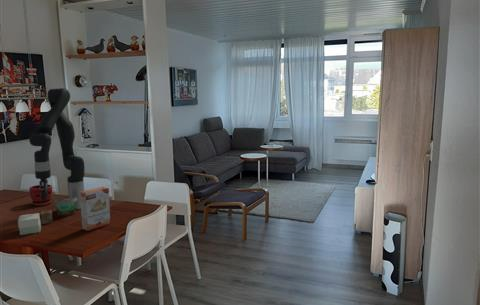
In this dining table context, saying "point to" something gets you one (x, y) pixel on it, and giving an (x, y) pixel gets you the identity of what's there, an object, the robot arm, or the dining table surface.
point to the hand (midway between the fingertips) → (44, 197)
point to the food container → (66, 207)
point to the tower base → (30, 229)
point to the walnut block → (46, 217)
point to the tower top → (28, 220)
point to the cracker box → (95, 208)
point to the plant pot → (37, 197)
